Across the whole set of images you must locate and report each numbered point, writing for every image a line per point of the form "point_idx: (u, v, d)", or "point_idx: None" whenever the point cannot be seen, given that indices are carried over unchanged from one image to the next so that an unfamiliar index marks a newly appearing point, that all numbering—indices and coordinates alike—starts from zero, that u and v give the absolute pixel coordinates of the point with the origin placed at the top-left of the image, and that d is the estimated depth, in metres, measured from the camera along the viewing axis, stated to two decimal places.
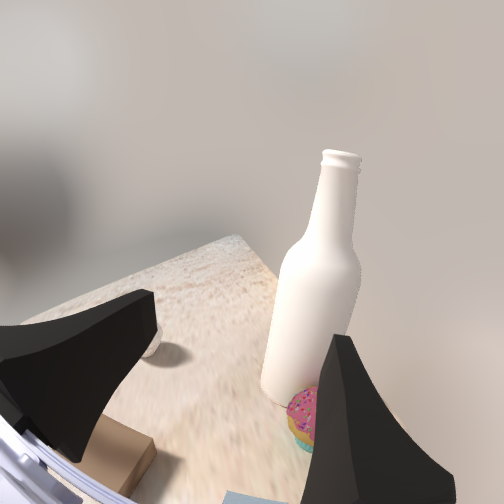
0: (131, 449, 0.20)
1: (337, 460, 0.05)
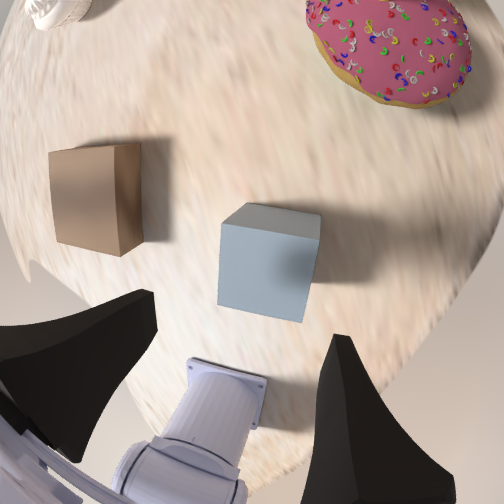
0: (102, 180, 0.17)
1: (337, 460, 0.05)
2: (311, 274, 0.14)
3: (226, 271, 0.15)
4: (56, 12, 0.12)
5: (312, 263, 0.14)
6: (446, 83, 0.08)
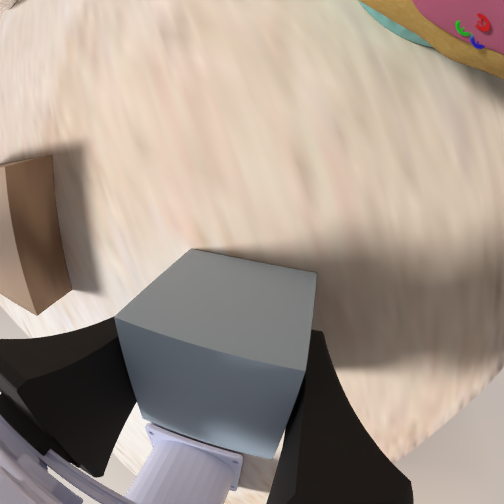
0: (1, 213, 0.10)
1: (291, 454, 0.05)
2: (287, 415, 0.07)
3: (142, 386, 0.08)
4: None
5: (289, 401, 0.06)
6: None
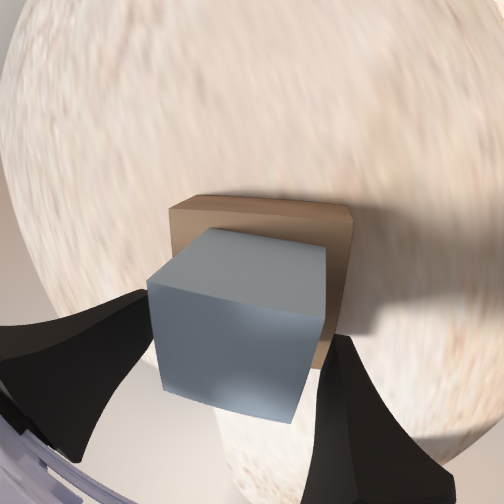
0: None
1: (337, 460, 0.05)
2: (307, 369, 0.08)
3: (167, 352, 0.09)
4: None
5: (309, 353, 0.07)
6: None
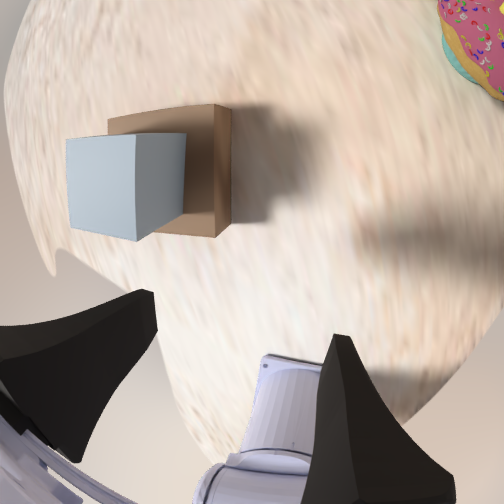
0: (194, 143, 0.15)
1: (337, 460, 0.05)
2: (133, 176, 0.11)
3: (71, 188, 0.13)
4: None
5: (132, 162, 0.11)
6: None
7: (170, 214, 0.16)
